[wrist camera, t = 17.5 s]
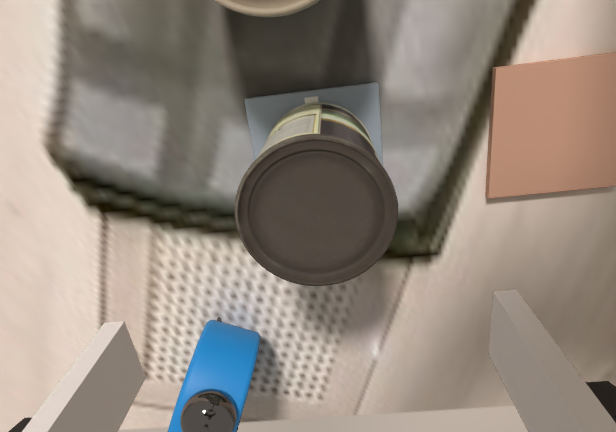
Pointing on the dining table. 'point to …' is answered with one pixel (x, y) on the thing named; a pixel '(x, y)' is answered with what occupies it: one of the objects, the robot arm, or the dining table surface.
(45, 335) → the dining table surface
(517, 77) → the pad
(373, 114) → the pad
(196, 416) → the alarm clock
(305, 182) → the coffee can
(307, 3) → the planter
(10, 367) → the dining table surface
